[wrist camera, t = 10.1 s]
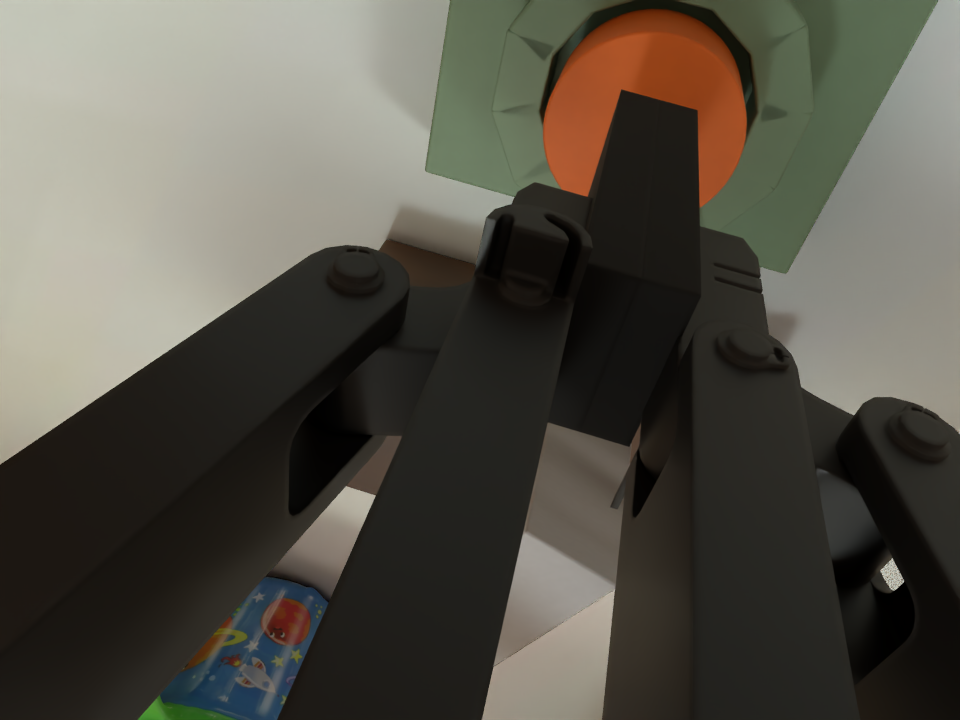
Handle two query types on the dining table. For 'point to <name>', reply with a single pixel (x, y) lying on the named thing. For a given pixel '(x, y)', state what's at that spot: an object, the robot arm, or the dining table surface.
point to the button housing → (765, 83)
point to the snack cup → (247, 658)
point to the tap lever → (565, 536)
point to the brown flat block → (425, 273)
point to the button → (646, 94)
